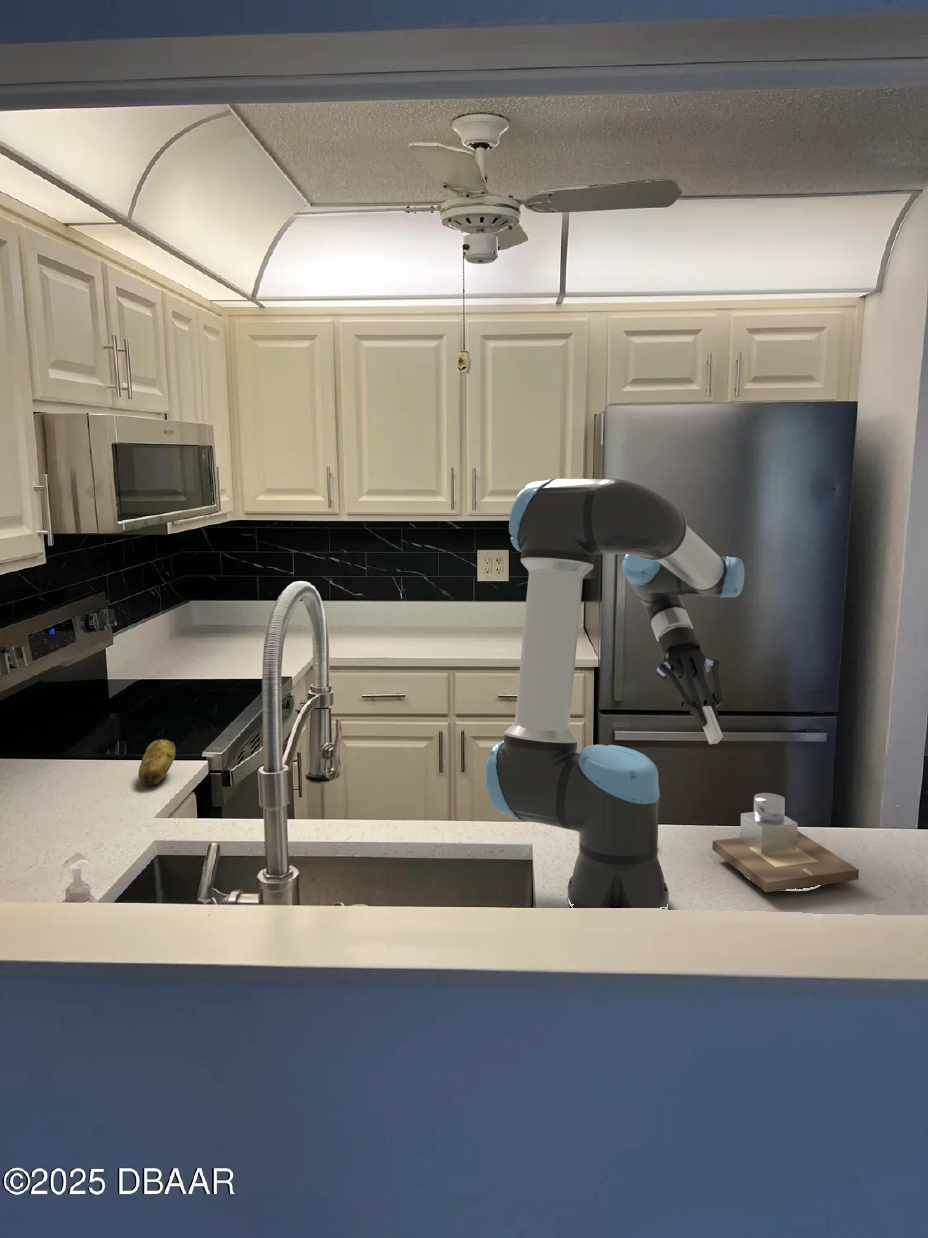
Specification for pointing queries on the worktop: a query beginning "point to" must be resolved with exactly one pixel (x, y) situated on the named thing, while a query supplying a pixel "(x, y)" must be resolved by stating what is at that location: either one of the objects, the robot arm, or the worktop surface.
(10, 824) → the worktop surface
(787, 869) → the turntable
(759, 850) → the metal block with knob
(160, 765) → the potato
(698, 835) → the worktop surface
